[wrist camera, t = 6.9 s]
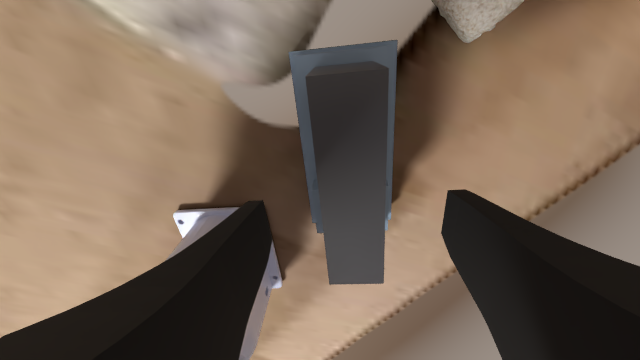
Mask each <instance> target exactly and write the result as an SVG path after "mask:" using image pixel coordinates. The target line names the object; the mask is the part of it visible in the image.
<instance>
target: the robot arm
mask: <svg viewBox="0 0 640 360" xmlns="http://www.w3.org/2000/svg"><path fill="white" fill-rule="evenodd" d="M173 217H174V219H175V222H176V224H177V226H178V228H179V231H180V233H181V235H182V237H183V239H182V240H181V241H180V243H179V244H178V245H177V247H176V248H175V249H174V250H173V252H172V253H171V254H170V255H169V257H168V258H167V259H166V260H165V261H164V262H163V263H161V264H160V265H158V266H156V267H154V268H153V269H151V270H149V271H147V272H145V273H143V274H141V275H140V276H138V277H136V278H134V279H132V280H130V281H128V282H127V283H125V284H123V285H121V286H119V287H117V288H115V289H113V290H111V291H109V292H107V293H104V294H102V295H100V296H98V297H96V298H94V299H92V300H89V301H87V302H85V303H83V304H81V305H78V306H76V307H74V308H72V309H69V310H67V311H65V312H62V313H60V314H57V315H55V316H52V317H50V318H48V319H45V320H43V321H40V322H38V323H35V324H33V325H30V326H28V327H25V328H23V329H20V330H18V331H15V332H13V333H10V334H7V335H5V336H3V337H1V338H0V360H249V359H250V357H251V356H252V354H253V352H254V350H255V348H256V345H257V342H258V338H259V334H260V331H261V327H262V323H263V319H264V316H265V312H266V308H267V305H268V301H269V297H270V293H271V290H272V288H280V287H281V286H282V283H283V282H282V277H281V273H280V269H279V265H278V261H277V257H276V252H275V248H274V244H273V240H272V236H271V231H270V227H269V223H268V219H267V215H266V211H265V206H264V202H263V200H261V201H248V202H247V203H245V204H244V205H242V206H241V207H230V208H210V209H190V210H177V211H176V212H175V213H174V214H173ZM181 220H182V221H181ZM441 234H442V236H443V239H444V242H445V245H446V247H447V250H448V252H449V255H450V257H451V259H452V261H453V263H454V264H455V266H456V268H457V270H458V272H459V274H460V275H461V277H462V279H463V281H464V283H465V284H466V286H467V288H468V290H469V291H470V293H471V295H472V297H473V299H474V301H475V302H476V304H477V306H478V308H479V309H480V311H481V313H482V315H483V317H484V319H485V321H486V323H487V325H488V327H489V329H490V332H491V334H492V336H493V339H494V341H495V343H496V345H497V348H498V350H499V353H500V355H501V357H502V360H640V266H637V265H634V264H631V263H628V262H625V261H622V260H620V259H617V258H614V257H611V256H609V255H606V254H603V253H601V252H598V251H596V250H593V249H591V248H588V247H586V246H583V245H581V244H578V243H576V242H573V241H571V240H568V239H566V238H564V237H561V236H559V235H557V234H555V233H552V232H550V231H548V230H546V229H544V228H542V227H540V226H537V225H535V224H533V223H531V222H529V221H527V220H525V219H523V218H521V217H519V216H517V215H515V214H513V213H511V212H509V211H507V210H505V209H503V208H501V207H500V206H498V205H496V204H494V203H492V202H490V201H488V200H486V199H484V198H482V197H480V196H478V195H476V194H474V193H472V192H470V191H467V190H465V189H464V190H448V193H447V199H446V206H445V212H444V219H443V225H442V231H441Z"/></svg>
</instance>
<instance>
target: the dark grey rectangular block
mask: <svg viewBox="0 0 640 360" xmlns="http://www.w3.org/2000/svg"><path fill="white" fill-rule="evenodd" d="M305 79H306V87H307V96H308V104H309V113H310V121H311V130H312V139H313V147H314V156H315V164H316V173H317V181H318V190H319V199H320V207H321V216H322V224H323V233H324V241H325V250H326V259H327V267H328V276H329V284H381V283H384V244H385V205H386V166H387V126H388V87H389V68H388V67H385V66H383V65H381V64H379V63H377V62H374V61H367V62H358V63H348V64H338V65H329V66H319V67H314V68H313V69H312V70H311V71H310V72H309V73H308V74H307V75H306V76H305Z"/></svg>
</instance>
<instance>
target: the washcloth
mask: <svg viewBox="0 0 640 360" xmlns="http://www.w3.org/2000/svg"><path fill="white" fill-rule="evenodd" d="M523 1H524V0H432V2H433V3H434V4H435V5H436V6H437V7H438V9H439V11H440V15H441V16H443V17H444V18H445V19H446V21H447V23H448V24H449V25H450V27H451V28H452V29H453V30H454V31H455V33H456V34H457V36H458V37H459V38H460V39H461V40H462V41H463V42H467V43H470V42H471V41H473V40H474V39H476V38H478V37H480V36H481V35H482V33H483V32H485V31H491V30H492V29H493V28H495V25H496V23H497V22H499V21H501V20H503V19H504V17H506V16H507V15H508V14H510V13H511V12H512V11H513V10H515V9H516V8H517V7H518V6H519V5H520V4H521V3H522V2H523Z"/></svg>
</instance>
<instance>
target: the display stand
mask: <svg viewBox="0 0 640 360" xmlns="http://www.w3.org/2000/svg"><path fill="white" fill-rule="evenodd" d="M289 58H290V65H291V72H292V79H293V86H294V94H295V101H296V108H297V115H298V122H299V129H300V137H301V144H302V151H303V158H304V165H305V172H306V180H307V187H308V194H309V201H310V208H311V215H312V223H316V227H317V233H323V224H322V216H321V207H320V199H319V190H318V181H317V173H316V164H315V156H314V147H313V139H312V130H311V121H310V113H309V104H308V96H307V87H306V79H305V76H306V75H307V74H308V73H309V72H310V71H311V70H312V69H313V68H314V67H319V66H329V65H338V64H348V63H358V62H367V61H374V62H377V63H379V64H381V65H383V66H385V67H388V68H389V87H388V126H387V166H386V205H385V230H388V220H389V219H391V200H392V173H393V146H394V120H395V93H396V66H397V40H391V41H382V42H374V43H364V44H356V45H347V46H337V47H328V48H319V49H310V50H301V51H292V52H289Z"/></svg>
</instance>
